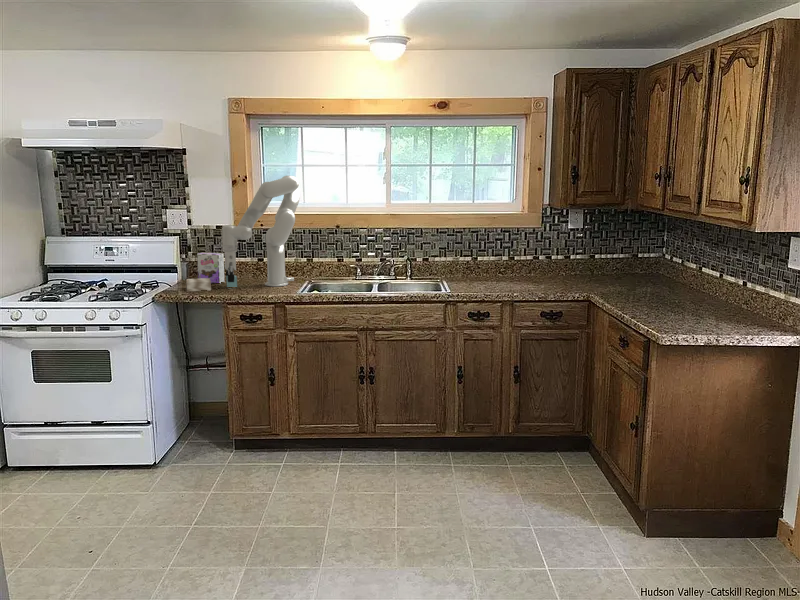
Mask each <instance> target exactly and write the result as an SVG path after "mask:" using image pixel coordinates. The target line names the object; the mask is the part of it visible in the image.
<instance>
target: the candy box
mask: <svg viewBox="0 0 800 600" xmlns="http://www.w3.org/2000/svg"><path fill="white" fill-rule="evenodd" d="M196 260H197V261H196V262H197V264H196V266H197V279H200V278H210V281H211V284H216V283H220V284H222V283H221V282H224V283H225V281H226V280H225V253H218V252H217V253H216V252H198V253H197V254H196Z"/></svg>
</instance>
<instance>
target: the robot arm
mask: <svg viewBox="0 0 800 600" xmlns="http://www.w3.org/2000/svg"><path fill="white" fill-rule="evenodd" d="M299 184H300V182H299V180H298V178H297V177H296V176H294V175H284V176H282V177H281V178H278V179H276V180H270V181H264V182H262V183H261V184H260V186H259V188H258V189H257V192H256V193H255V195H254V197H253V198H252V201H251V202H250V204H249V206H248V207H247V209H246V211H245V212H244V214H243V216H241V219H240V220H239V223H238V224H237V225H232V224H231V225H230V224H229V225H228V224H225V225H223V226H222V229H221V233H222V234H221V237H222V240H221V241H222V242H221V243H222V252H223V253H224V269H225V270H226V271H225V277H226V276H228V282H234V275H235V272H234V271H236V270H237V257H236V252H238V240H243V241H244V240H245V241H247V240H249V239H251V237H252V236H253V227H254V226H255V225H256V223H257V222H258V220H259V219H260V218H261V217H262V216H264V214H265V212H266V211H267V209H268V207H269V206H270V203H271V202H272V200H273V199H274V198H277V197H278V198H279V197H281V196H283V198H282V200H281V203H280V205H279V208H278V210H277V211H276V213H275V216H274V219H275V220H274V221H275V222H274V224H273V226H272V227H270V228H268V230H267V231H266V233H265V243H266V244H265V245H266V246H265V247H266V261H267V262H266V265H267V281H266V282H264V285H265V286H266V287H283V286H284V287H285V286H288V285H289V282H294V281H295V277H287V276H286V260H285V259H286V256H285V255H286V254H285V252H286V251H285V243H286V242H287V241H288V239H289V237H290V235H291V233H292V230H293V229H294V228H293V227H294V226H295V224H296V223H295V222H296V215H295V212H296V210H297V208H298V205H299V202H300V199H301V194H300V188H299Z"/></svg>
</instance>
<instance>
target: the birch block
mask: <svg viewBox="0 0 800 600" xmlns="http://www.w3.org/2000/svg"><path fill="white" fill-rule="evenodd" d="M211 284H212V283H211V281H210V278H200V279H198V278H186V292H202V291H201V290H207V291H212V285H211Z"/></svg>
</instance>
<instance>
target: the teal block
mask: <svg viewBox="0 0 800 600" xmlns="http://www.w3.org/2000/svg"><path fill="white" fill-rule="evenodd" d="M225 281H226V288H227V287H237V288H238V276H237V275H235V274H234V282H228V276H226V275H225Z"/></svg>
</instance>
